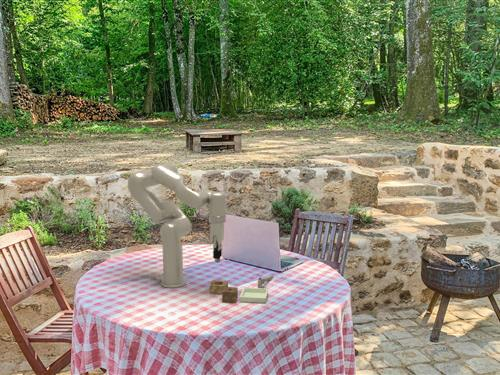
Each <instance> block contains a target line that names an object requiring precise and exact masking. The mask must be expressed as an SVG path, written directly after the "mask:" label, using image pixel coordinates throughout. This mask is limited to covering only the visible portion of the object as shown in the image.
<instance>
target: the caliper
mask: <svg viewBox="0 0 500 375" xmlns="http://www.w3.org/2000/svg"><path fill="white" fill-rule="evenodd" d="M272 279H274V275H269V276H266V277H263V278H262V277H261V276H260V277H258V281H257V288H263V285H264V284H265V283H266V282H268V281H270V280H272Z"/></svg>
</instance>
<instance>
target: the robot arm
mask: <svg viewBox="0 0 500 375" xmlns="http://www.w3.org/2000/svg"><path fill="white" fill-rule="evenodd" d="M178 171H179V170H178V168H177V166H176V165H175V164H173V163H172V162H164V163H159V164H156V165H154V166H152V168H150V169H144V170H139V171H135V172H133V173H131V175H130V176H129V177H128V179H127V188H128V192H129V194H130V195H131V196H132V198H133V199H134V200H135V202H137V203H138V205H139V206H140V207H141V208H142V210H144V212H145V213H146V215H148V217H149V218H150V219H151V221H153V222H154V223H156V224H160V223H163V224H162V225H161V227H160V230H159V233H160V239H161V245H162V265H163V266H162V268H163V269H162V270H163V272H162V274H160V273H159V274H157V273H156V274H155V276H154V278H155V279H156V280H161V281H160V283H159V284H160V286H161V287H164V288H167V289H168V288H171V289H174V288H181V287H183V286H185V285H186V284H187V279H186V278H184V260H183V259H184V256H183V252H184V251H183V245H182V243H181V240H180V239H181V238H182V237H184V236H187V235H188V234H190V233H191V230H192V223H191V221H190V219H189V218H188V216H186V214H185V213H184V212H183V211H182V210H181V208H180V207H179V206H178V204H176V203H175V202H173V201H171V200H164V201H160V199H158V197H157V196H156V195H155V194H154V193H153V192H152V191H151V190H148V188H149V187H154V186H157V185H162V186H164V187H166V188H167V189H169V190H171V191H172V192H173V193H174V195H175V196H176V198H177V199H178V201H180V202H181V203H183V204H184V205H186V206H188V208H192V209H197V210H198V209H201V208H204V207H207V206H209V207H208V208H209V209H208V214H209V215H208V219H209V223H210V226H209V241H208V242H209V245H212V247H213V248H212V250H213V251H212V252H213V254H212V258H213V260H215V259H220V260H221V258H222V256H223V255H222V254H223V252H222V251H223V250H222V246H223V241H224V237H225V223H226V219H227V218H226V217H227V215H226V214H227V210H226V209H227V207H226V205H227V203H226V202H227V201H226V200H227V199H226V196H227V195H226V193H225V192H223V191H214V190H212V189H211V190H210V189H201V190H197V191H194V190H192V189H190V188H188V187H187V186H186V185H185V184H186V177H185V176H184V175H182V174H180V173H179V172H178ZM217 245H218V246H217Z"/></svg>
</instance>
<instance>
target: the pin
mask: <svg viewBox="0 0 500 375" xmlns="http://www.w3.org/2000/svg"><path fill="white" fill-rule="evenodd" d="M217 246H218V245H217ZM214 262H215V263H219V264H220V263H221V258H220V259H214Z"/></svg>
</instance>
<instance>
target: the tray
mask: <svg viewBox="0 0 500 375" xmlns="http://www.w3.org/2000/svg"><path fill="white" fill-rule="evenodd" d="M268 297H269V288H265V287H264V288H263V287H262V288H258V287H244V286H243V288H242V291H241V293H240V295H239V303H245V304H246V303H248V304H249V303H250V304H265V305H266V303H267V300H268Z"/></svg>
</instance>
